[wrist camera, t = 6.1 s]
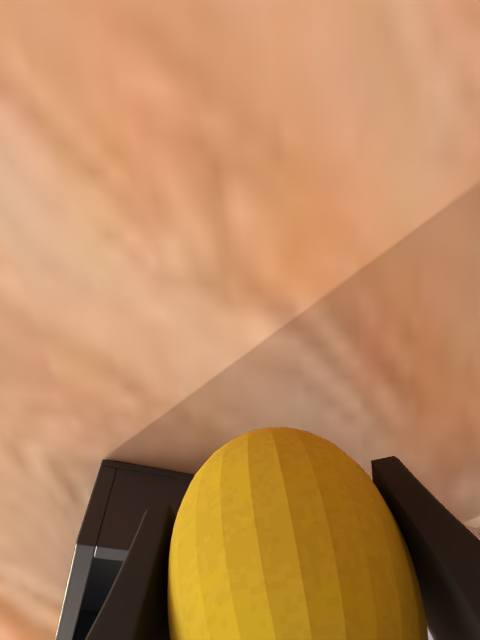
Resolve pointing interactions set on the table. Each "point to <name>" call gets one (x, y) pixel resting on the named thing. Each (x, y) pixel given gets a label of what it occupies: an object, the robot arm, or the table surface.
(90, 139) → the table surface
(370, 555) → the lemon
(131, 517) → the bin
